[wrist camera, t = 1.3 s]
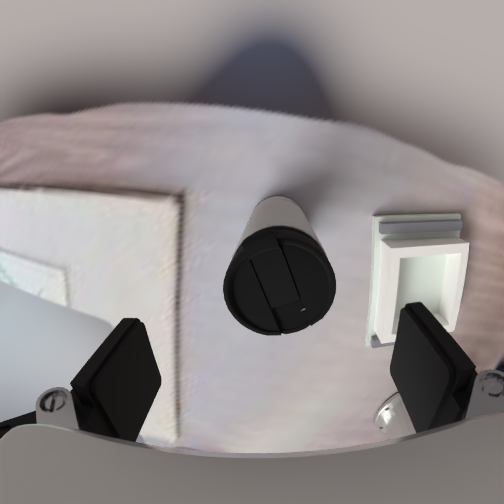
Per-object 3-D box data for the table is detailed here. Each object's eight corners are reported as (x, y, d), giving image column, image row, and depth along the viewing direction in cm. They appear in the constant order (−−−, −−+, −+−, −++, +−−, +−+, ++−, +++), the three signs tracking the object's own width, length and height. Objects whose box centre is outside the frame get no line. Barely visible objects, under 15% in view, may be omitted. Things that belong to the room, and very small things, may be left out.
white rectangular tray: (440, 330, 37) (453, 346, 33) (364, 343, 38) (372, 361, 34) (457, 213, 32) (475, 220, 27) (372, 215, 33) (385, 223, 29)
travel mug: (292, 185, 33) (317, 213, 14) (311, 237, 34) (351, 326, 15) (241, 203, 34) (198, 256, 15) (262, 255, 36) (246, 358, 16)
